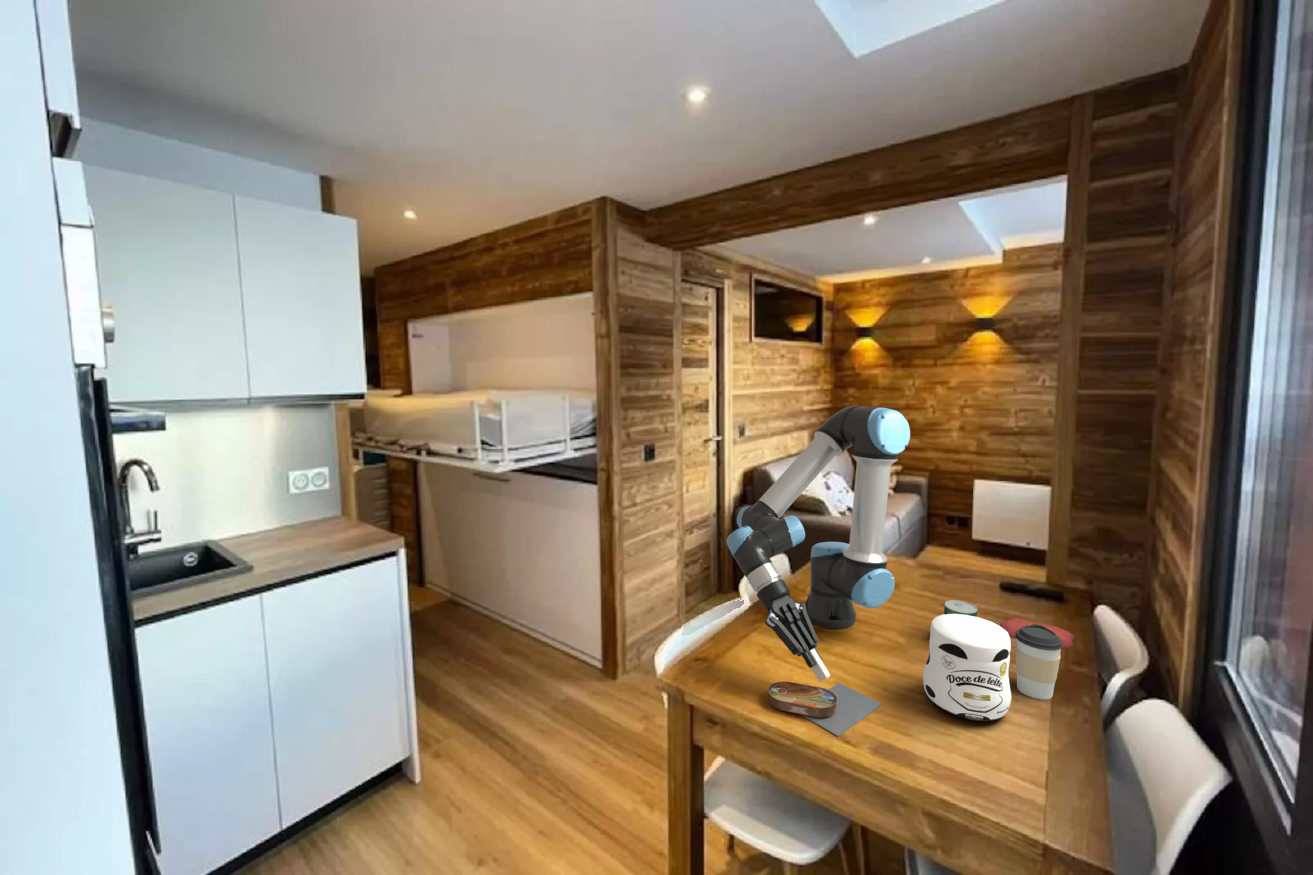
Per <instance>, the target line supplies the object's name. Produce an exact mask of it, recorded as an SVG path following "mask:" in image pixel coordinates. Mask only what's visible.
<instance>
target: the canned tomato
mask: <svg viewBox="0 0 1313 875" xmlns="http://www.w3.org/2000/svg"><path fill="white" fill-rule="evenodd" d="M943 610H944V612H943V615H944V614H962V615H969V616H974V617H978V607H977V606H976V605H974V604H973V603H969V602H966V601H963V600H958V599H957V600H955V599H954V600H953V599H951V600H946V601H944V609H943Z"/></svg>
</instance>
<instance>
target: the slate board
mask: <svg viewBox="0 0 1313 875" xmlns="http://www.w3.org/2000/svg"><path fill="white" fill-rule="evenodd" d="M827 690H830V691H831V692H833V693H834V694H835V696H836V697H837V702H836V706H837V707H836V711H835V713H834V714H833V715H832V716H829V717H825V718H816V717H811V716H806V715H801V714H799V715H800V716H802V717H804V718H805V719H807V720H808V721H810V722H812V723H814V724H816V725H818V726H819V727H821V728H822V729H824V730H826V731H827V732H829V733H831V734H833V735H835V736H836V737H839V736H841V735H842V734H843V733H845V732H847V731H848V730H849V729H851V728H852V727H853V726H854V725H856V724H858V723H859V722H861V721H862V720H864V718H866V717H867V716H869V715H870V714H872V713H874V711H876V710H877V709H879V708H880V707H881V706H883V703H881V702H879V701H878V700H875V699H873V698H871V697H869V696H867V695H865V694H863V693H861V692H859V691H856V690H855V689H852V688H851V687H849V686H847V685H845V684H843V683H841V682H838V683H837V684H835V685H833V686H832V687H830V688H828V689H827Z"/></svg>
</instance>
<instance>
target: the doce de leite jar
mask: <svg viewBox="0 0 1313 875" xmlns="http://www.w3.org/2000/svg"><path fill="white" fill-rule="evenodd" d="M929 629H930V630H929V632H930V633H929V634H930V636H929V650H928V651H929V652H928V658H927V660H926V663H925V666H924V668H923V673H922V681H923V682H922V683H923V689H924V692H925V694H926V696H927V697H928V698H929V700H930V701H931V702H932V703H933V704H934V705H936V706H937V707H939V709H941V710H942V711H945V712H947V713H949V714H951V715H953V716H955V717H958V718H963V719H965V720H969V721H976V722H987V721H996V720H999V719H1001V718H1002V717H1004V716H1005V715H1006V714H1007V713H1008V711H1009V708H1010V706H1011V702H1012V686H1011V682H1010V677H1009V668H1010V660H1011V655H1010V653H1011V648H1012V647H1011V646H1012V644H1011V637H1009V635H1008V632H1007V631H1005V630H1004V629H1003V628H1002V627H1000V625H998V624H996V623H995V622H993V621H990V620H987V619H984V618H982V617H979V616H977V617H974V616H969V615H962V614H944V613H943V614H941V615H938V616H935V617H934V618H933V619H932V621H931V625H930V628H929Z"/></svg>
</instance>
